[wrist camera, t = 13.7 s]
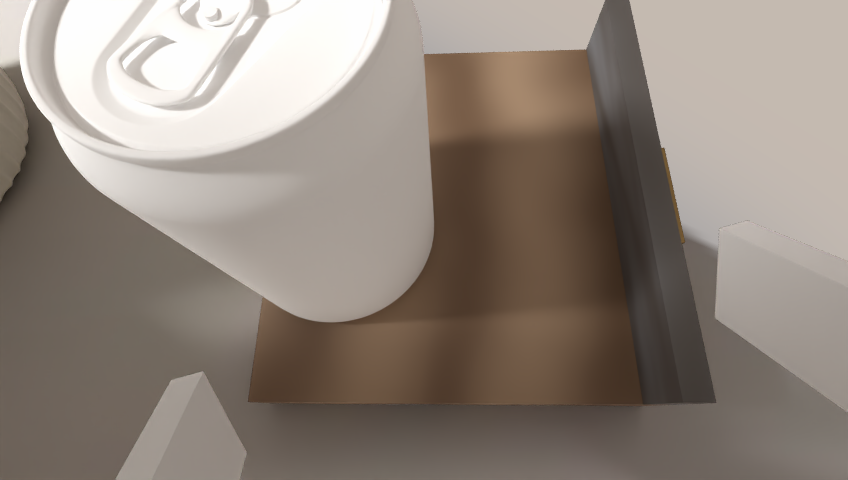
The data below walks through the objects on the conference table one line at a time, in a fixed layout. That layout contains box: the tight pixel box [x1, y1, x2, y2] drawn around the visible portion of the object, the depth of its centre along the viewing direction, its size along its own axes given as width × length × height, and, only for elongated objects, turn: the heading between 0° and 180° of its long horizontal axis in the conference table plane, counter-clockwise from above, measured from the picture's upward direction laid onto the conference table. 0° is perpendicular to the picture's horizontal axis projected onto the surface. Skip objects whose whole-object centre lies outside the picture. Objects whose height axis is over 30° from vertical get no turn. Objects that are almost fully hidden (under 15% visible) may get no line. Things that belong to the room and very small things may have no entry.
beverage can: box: [20, 0, 434, 322], centre depth 14 cm, size 8×8×12 cm
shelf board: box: [248, 0, 716, 406], centre depth 20 cm, size 16×17×6 cm
